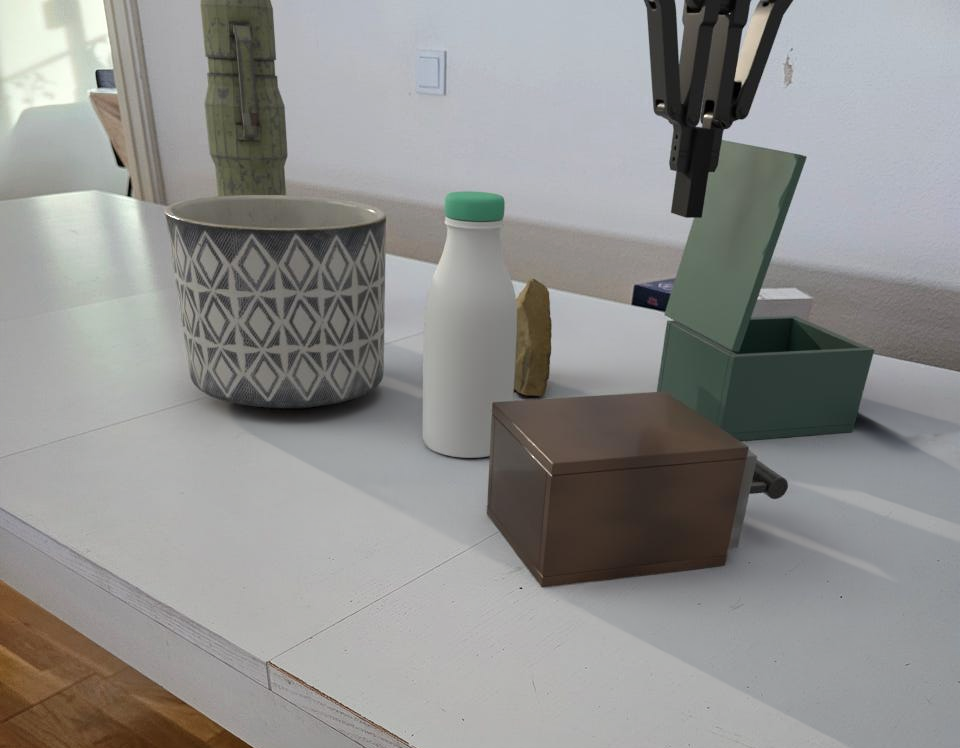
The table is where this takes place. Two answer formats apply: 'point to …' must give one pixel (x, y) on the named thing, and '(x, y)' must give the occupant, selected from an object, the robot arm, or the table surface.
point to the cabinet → (612, 486)
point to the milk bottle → (468, 329)
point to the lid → (733, 241)
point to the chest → (768, 378)
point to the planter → (280, 297)
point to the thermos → (244, 98)
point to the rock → (533, 340)
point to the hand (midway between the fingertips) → (686, 214)
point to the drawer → (755, 491)
